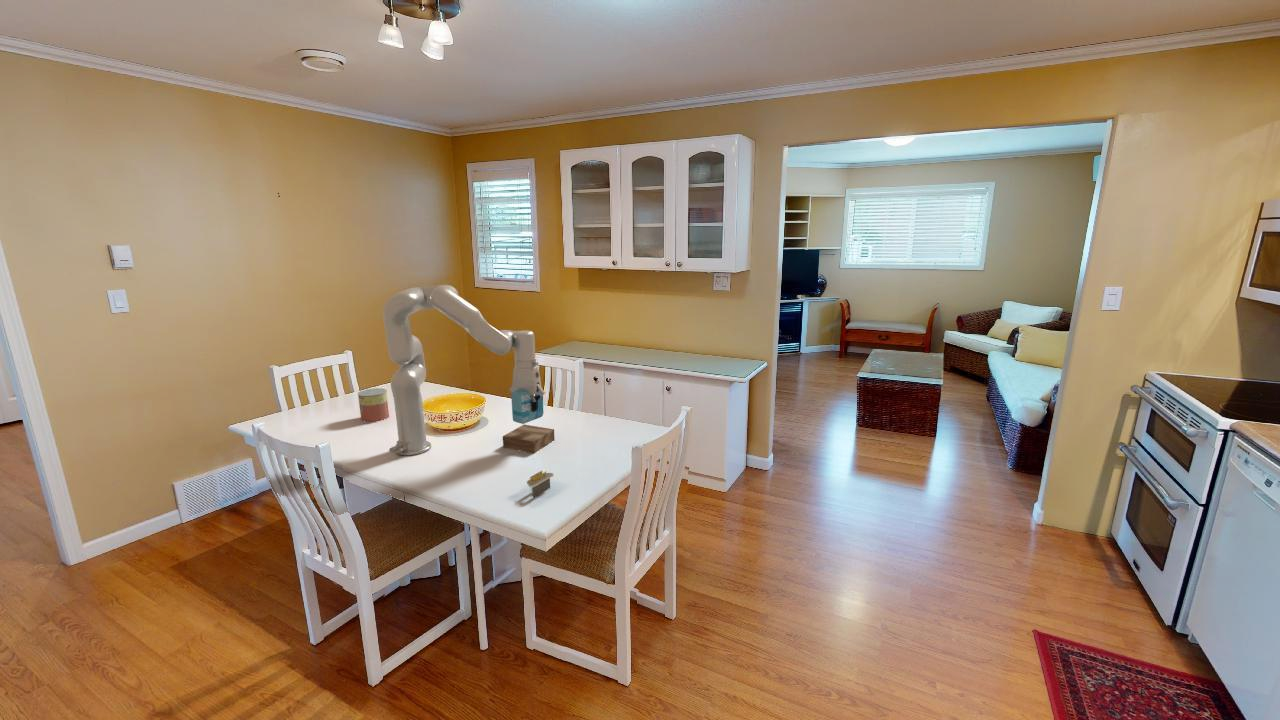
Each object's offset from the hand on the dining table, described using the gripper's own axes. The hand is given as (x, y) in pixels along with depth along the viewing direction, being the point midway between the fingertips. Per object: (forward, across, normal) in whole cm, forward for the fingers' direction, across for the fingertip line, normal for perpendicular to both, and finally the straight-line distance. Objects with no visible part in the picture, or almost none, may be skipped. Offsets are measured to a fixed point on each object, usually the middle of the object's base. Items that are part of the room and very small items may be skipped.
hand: (527, 409), depth 209 cm
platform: (+15, -24, +34) cm, 44 cm away
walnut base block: (+14, 0, 0) cm, 14 cm away
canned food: (+14, +79, -2) cm, 80 cm away
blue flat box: (+4, 0, 0) cm, 4 cm away
